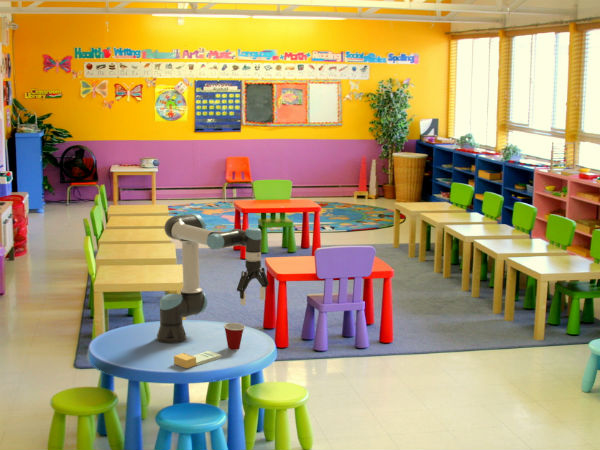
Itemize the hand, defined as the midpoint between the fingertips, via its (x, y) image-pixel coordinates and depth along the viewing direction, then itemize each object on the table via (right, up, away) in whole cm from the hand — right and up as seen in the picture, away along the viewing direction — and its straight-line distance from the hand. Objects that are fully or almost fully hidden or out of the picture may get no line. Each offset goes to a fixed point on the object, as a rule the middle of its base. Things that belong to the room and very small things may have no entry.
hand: (252, 302), depth 398 cm
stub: (-32, -29, -11) cm, 44 cm away
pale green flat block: (-24, -28, -3) cm, 37 cm away
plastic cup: (-10, -25, +15) cm, 31 cm away
